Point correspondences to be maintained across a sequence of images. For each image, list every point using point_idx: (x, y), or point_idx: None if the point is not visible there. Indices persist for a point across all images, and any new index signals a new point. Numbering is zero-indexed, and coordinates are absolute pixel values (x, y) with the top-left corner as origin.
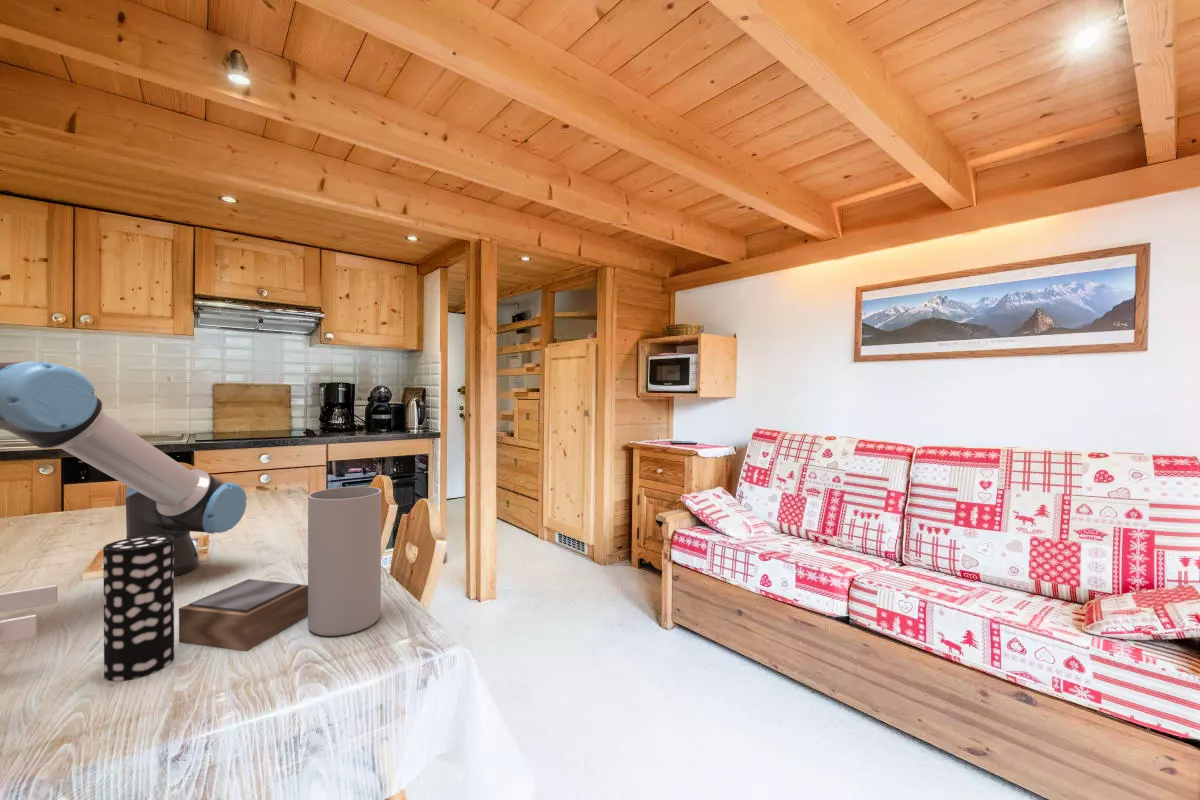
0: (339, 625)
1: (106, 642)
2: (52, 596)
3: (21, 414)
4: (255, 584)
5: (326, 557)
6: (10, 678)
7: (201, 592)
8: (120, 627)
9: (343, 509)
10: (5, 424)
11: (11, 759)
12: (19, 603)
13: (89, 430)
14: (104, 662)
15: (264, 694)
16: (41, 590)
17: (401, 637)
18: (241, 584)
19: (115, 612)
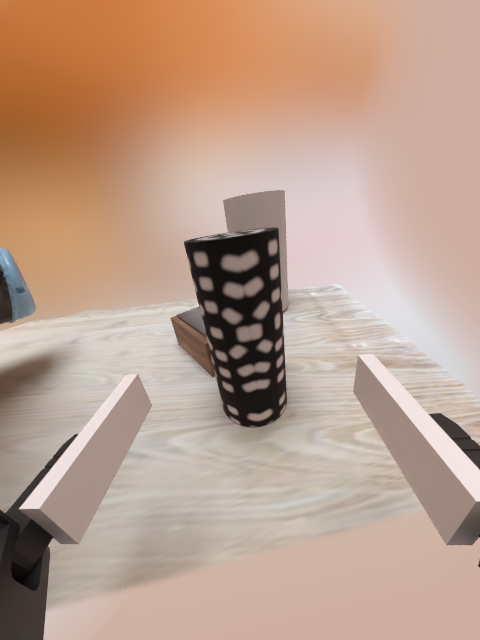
0: (287, 300)
1: (267, 384)
2: (144, 396)
3: None
4: (198, 311)
5: (281, 249)
6: (148, 580)
7: (80, 374)
8: (281, 353)
9: (284, 201)
10: None
11: None
12: (110, 456)
13: None
14: (262, 410)
15: (364, 328)
16: (125, 397)
17: (306, 294)
18: (187, 316)
19: (277, 337)
